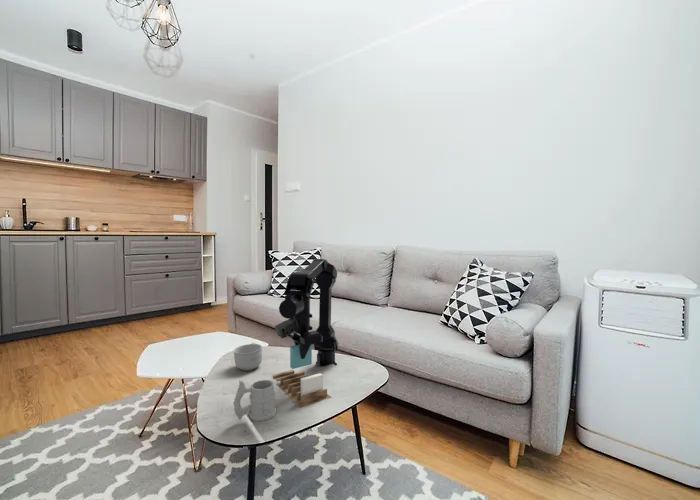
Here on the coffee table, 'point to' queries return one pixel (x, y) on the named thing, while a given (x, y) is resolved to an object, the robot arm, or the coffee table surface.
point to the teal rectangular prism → (299, 357)
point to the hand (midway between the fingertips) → (301, 357)
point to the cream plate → (311, 384)
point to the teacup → (248, 356)
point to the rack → (293, 390)
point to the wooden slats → (283, 374)
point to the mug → (256, 400)
